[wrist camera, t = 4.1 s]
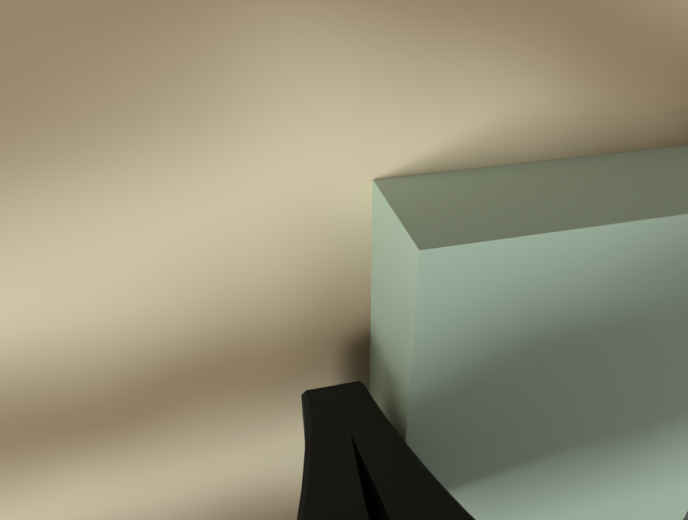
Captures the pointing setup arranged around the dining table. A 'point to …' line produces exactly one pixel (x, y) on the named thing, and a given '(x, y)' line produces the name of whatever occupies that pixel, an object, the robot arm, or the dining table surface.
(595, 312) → the mint green book-shaped slab
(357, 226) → the bench board
